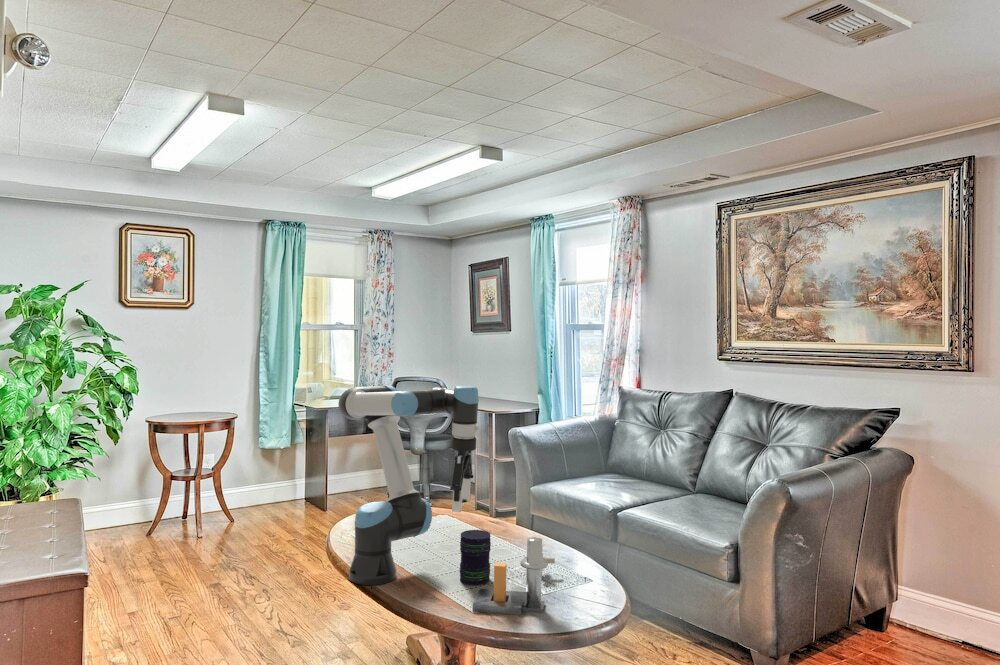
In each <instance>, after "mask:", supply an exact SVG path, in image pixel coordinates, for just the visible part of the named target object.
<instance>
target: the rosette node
mask: <svg viewBox="0 0 1000 665" xmlns="http://www.w3.org/2000/svg"><path fill="white" fill-rule="evenodd" d="M542 545H543V539H542V538H540V537H537V536H534V537H533V536H532V537H528V538H527V539H526V557H527V558H525V559H524V558H523V559H521V560H520V566H521V567H522V568H524V569H526V576H525V577H526V579H525V580H526V581H525V582H526V583H525V584H526V585H525V587H519V586H518V587H517V586H512V588H511V590H506V602H499V601H494V589H489V588H488V589H487V588H479V590H478V592H477V594H476V597H475V599H474V601H473V602H472V612H480V613H488V614H489V613H492V614H504V615H515V616H521V615H522V612H529V613H530V612H533V613H543V612H544V609H545V604H546V601H545V600H542V575H543V569H546V568H548V566H549V563H548V561H546V560H545V559H542V553H543V547H542Z"/></svg>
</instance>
